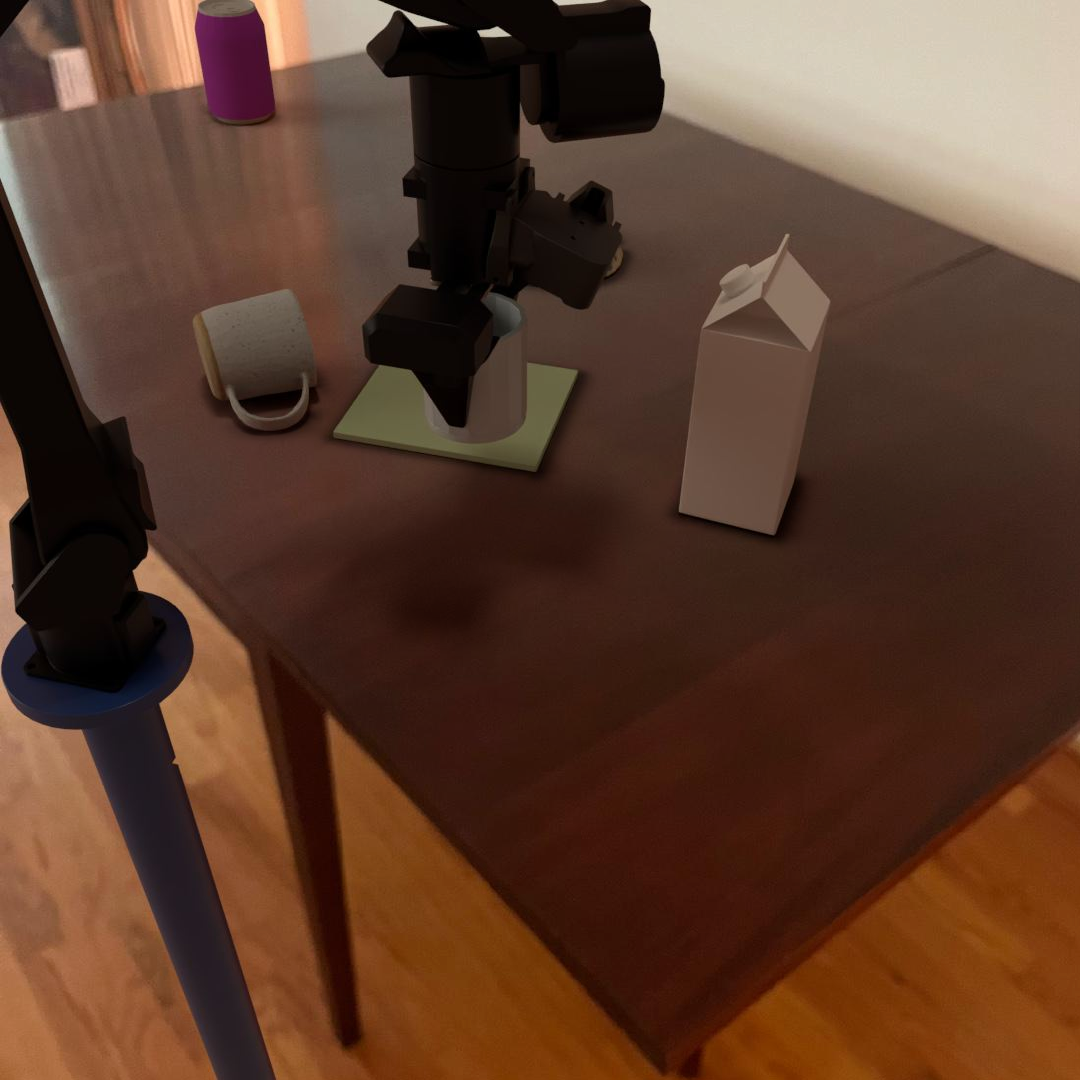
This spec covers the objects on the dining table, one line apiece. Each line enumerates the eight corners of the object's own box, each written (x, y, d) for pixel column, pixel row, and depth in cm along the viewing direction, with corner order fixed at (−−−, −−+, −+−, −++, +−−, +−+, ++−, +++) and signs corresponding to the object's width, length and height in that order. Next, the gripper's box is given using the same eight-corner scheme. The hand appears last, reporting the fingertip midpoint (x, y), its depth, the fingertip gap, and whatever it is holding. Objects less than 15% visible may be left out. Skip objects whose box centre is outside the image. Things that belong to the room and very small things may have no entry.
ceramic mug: (200, 374, 93) (182, 288, 88) (299, 355, 96) (287, 271, 91) (229, 446, 86) (211, 358, 81) (335, 423, 89) (324, 337, 84)
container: (410, 434, 71) (403, 333, 66) (444, 381, 76) (439, 283, 71) (509, 451, 70) (508, 351, 65) (537, 397, 75) (539, 299, 70)
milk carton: (794, 482, 86) (842, 243, 73) (774, 538, 81) (822, 292, 68) (702, 460, 87) (734, 223, 74) (677, 514, 82) (707, 270, 69)
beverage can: (290, 112, 136) (276, 3, 128) (244, 132, 131) (227, 19, 123) (242, 98, 139) (225, -9, 131) (195, 116, 134) (175, 6, 126)
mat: (333, 438, 87) (332, 431, 87) (395, 347, 98) (395, 341, 97) (536, 472, 85) (536, 465, 85) (578, 376, 95) (578, 370, 95)
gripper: (568, 245, 53) (560, 508, 64) (648, 109, 67) (630, 344, 77) (345, 212, 55) (372, 473, 66) (466, 86, 69) (473, 319, 79)
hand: (474, 397), depth 72 cm, fingers closed on container, 6 cm apart
